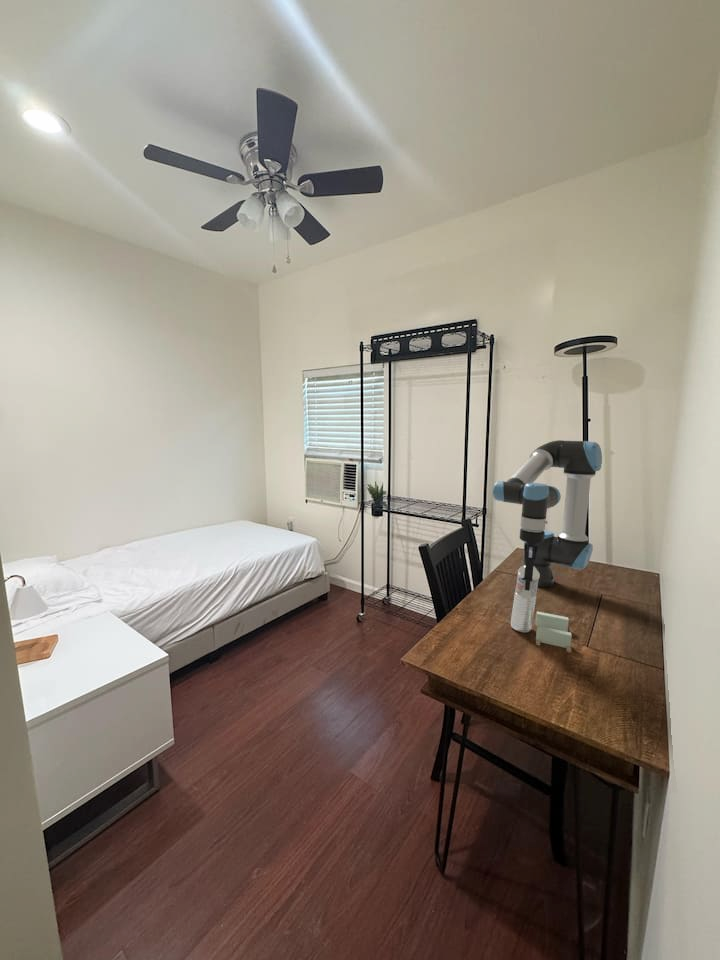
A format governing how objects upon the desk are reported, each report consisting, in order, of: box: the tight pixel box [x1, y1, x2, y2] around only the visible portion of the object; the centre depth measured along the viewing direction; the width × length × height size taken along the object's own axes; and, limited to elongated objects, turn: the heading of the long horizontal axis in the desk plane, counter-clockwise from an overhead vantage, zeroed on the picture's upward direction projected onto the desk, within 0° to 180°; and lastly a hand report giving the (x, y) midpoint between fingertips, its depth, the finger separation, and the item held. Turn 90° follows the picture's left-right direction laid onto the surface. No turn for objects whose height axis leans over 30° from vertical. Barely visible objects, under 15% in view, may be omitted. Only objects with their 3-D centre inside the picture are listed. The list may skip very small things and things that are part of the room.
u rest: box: [535, 611, 573, 653], centre depth 129 cm, size 10×18×4 cm, turn 156°
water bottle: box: [510, 565, 540, 633], centre depth 132 cm, size 7×7×25 cm
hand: (526, 593), depth 132 cm, fingers closed on water bottle, 7 cm apart
